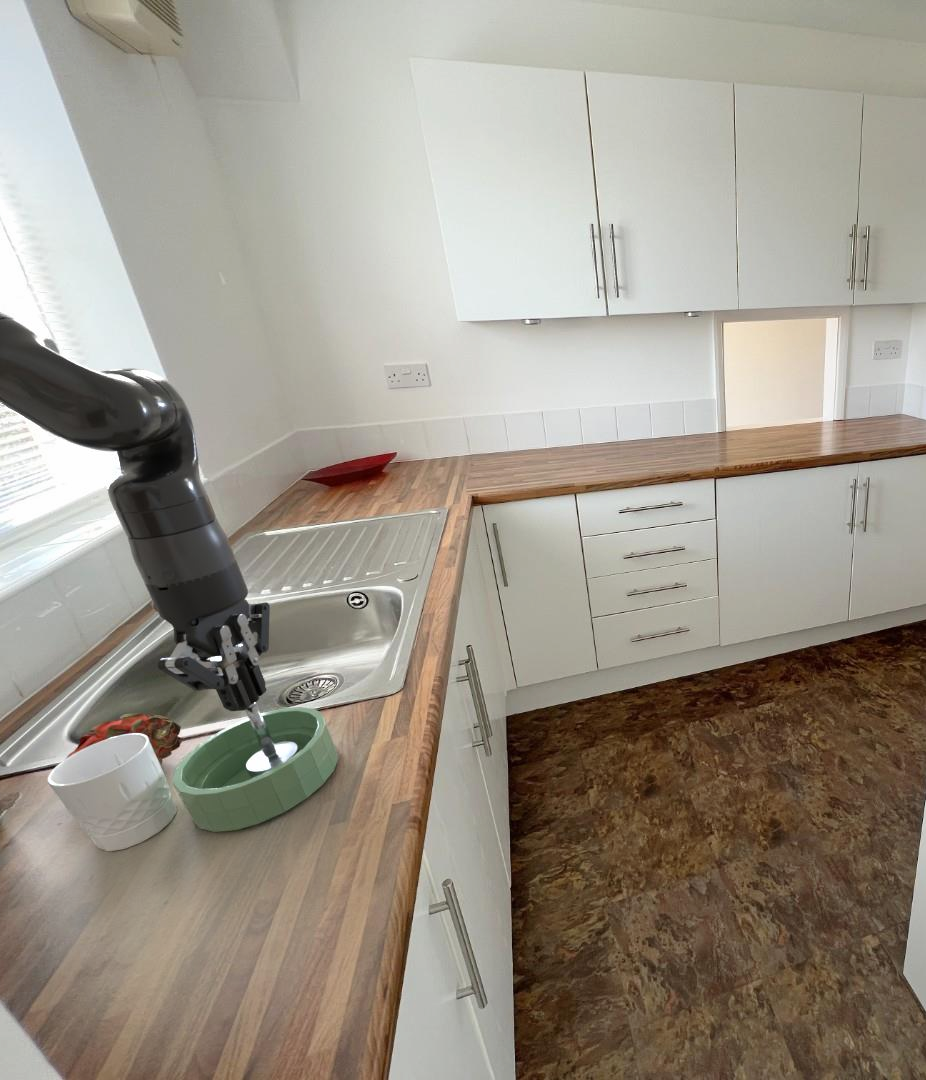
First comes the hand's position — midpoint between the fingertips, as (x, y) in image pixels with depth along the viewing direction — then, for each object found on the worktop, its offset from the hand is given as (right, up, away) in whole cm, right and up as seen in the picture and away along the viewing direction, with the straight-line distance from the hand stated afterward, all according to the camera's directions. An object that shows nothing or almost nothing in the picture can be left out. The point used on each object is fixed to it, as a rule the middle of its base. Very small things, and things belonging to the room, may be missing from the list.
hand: (248, 701), depth 68 cm
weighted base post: (+1, -9, +4) cm, 10 cm away
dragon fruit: (-20, -11, +7) cm, 24 cm away
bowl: (0, -11, +4) cm, 12 cm away
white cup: (-11, -14, -1) cm, 18 cm away
